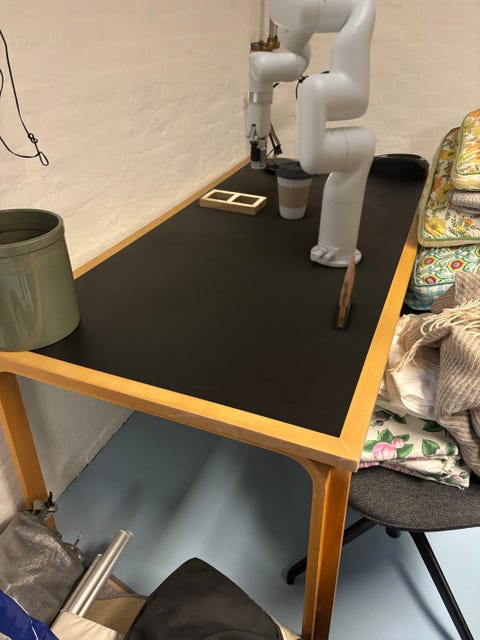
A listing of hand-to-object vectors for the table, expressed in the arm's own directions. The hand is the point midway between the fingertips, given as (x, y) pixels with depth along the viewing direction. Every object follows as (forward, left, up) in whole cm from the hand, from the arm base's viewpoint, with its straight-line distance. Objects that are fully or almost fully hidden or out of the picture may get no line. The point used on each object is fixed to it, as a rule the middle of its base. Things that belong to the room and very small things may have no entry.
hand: (258, 158), depth 162 cm
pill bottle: (0, 0, -3) cm, 3 cm away
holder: (-13, 0, -12) cm, 18 cm away
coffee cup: (-8, -19, -12) cm, 24 cm away
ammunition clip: (-50, -59, -12) cm, 78 cm away
